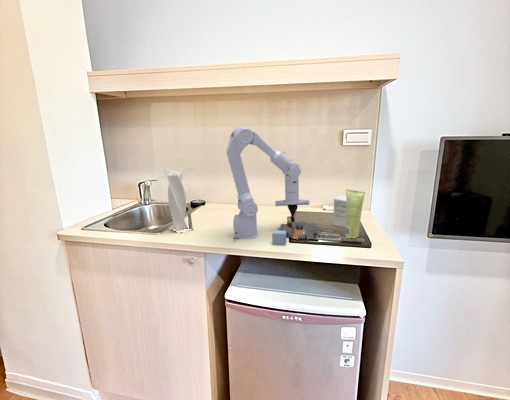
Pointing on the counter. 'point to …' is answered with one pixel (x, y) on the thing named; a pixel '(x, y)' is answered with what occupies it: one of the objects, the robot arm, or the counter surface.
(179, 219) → the skyscraper
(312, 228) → the sprocket
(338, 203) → the supplement box
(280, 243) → the link block
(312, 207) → the counter surface
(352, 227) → the tube
